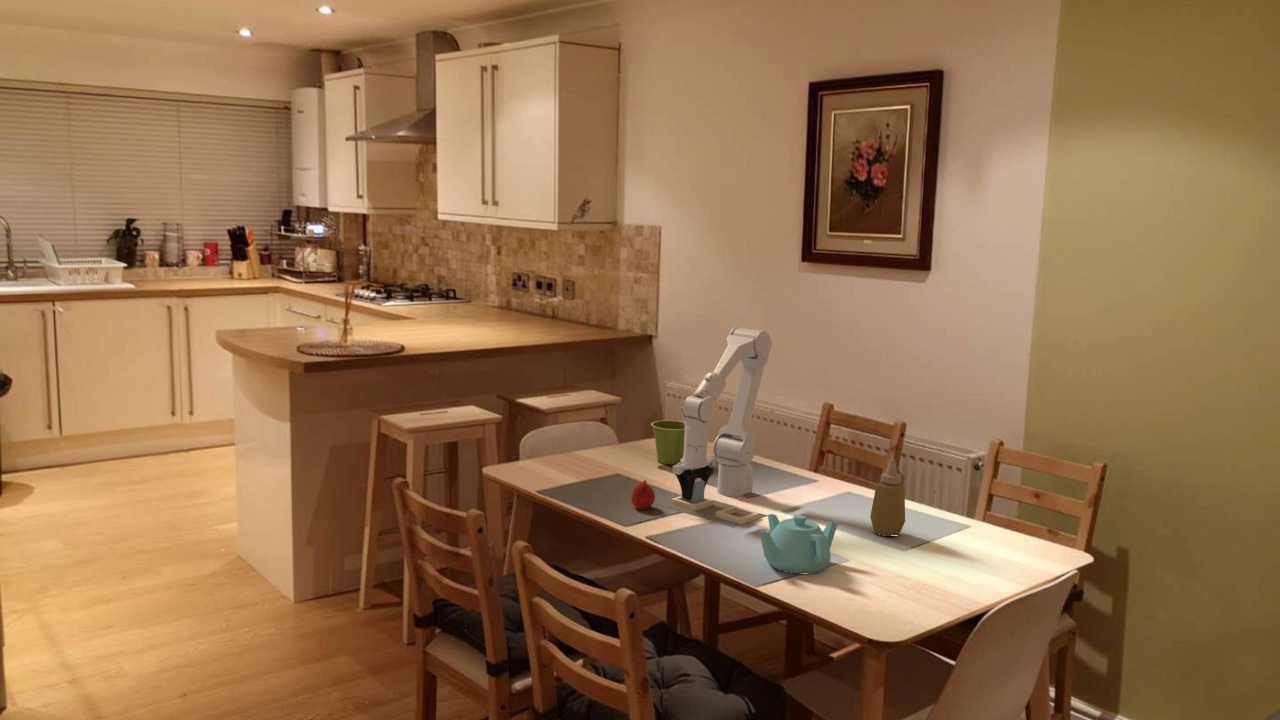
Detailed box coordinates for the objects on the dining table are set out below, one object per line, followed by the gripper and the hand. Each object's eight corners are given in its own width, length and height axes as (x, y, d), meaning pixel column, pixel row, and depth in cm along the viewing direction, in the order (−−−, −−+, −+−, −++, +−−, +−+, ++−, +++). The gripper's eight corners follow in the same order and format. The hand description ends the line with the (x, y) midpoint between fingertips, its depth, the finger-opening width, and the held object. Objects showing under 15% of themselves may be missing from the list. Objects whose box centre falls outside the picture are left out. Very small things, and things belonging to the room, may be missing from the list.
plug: (691, 500, 256) (692, 475, 255) (703, 504, 253) (705, 478, 252) (681, 503, 253) (682, 478, 252) (693, 507, 250) (694, 481, 249)
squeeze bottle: (905, 531, 242) (911, 458, 239) (902, 541, 235) (909, 466, 232) (871, 526, 245) (877, 454, 242) (867, 536, 237) (873, 461, 234)
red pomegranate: (651, 516, 245) (653, 484, 244) (628, 513, 246) (629, 482, 245) (656, 509, 250) (657, 478, 249) (633, 507, 252) (634, 475, 250)
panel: (697, 499, 261) (697, 490, 261) (767, 519, 246) (768, 510, 246) (661, 509, 251) (662, 500, 250) (733, 531, 236) (733, 522, 236)
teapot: (753, 571, 211) (756, 521, 210) (766, 548, 226) (769, 502, 224) (827, 582, 207) (831, 531, 205) (835, 558, 221) (839, 511, 220)
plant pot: (647, 456, 302) (648, 419, 300) (686, 457, 303) (688, 420, 302) (651, 467, 290) (653, 428, 289) (692, 467, 292) (694, 429, 290)
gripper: (701, 437, 259) (698, 488, 261) (664, 445, 248) (661, 499, 250) (723, 442, 254) (720, 494, 256) (686, 451, 243) (683, 505, 245)
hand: (692, 497), depth 253 cm, fingers closed on plug, 4 cm apart
